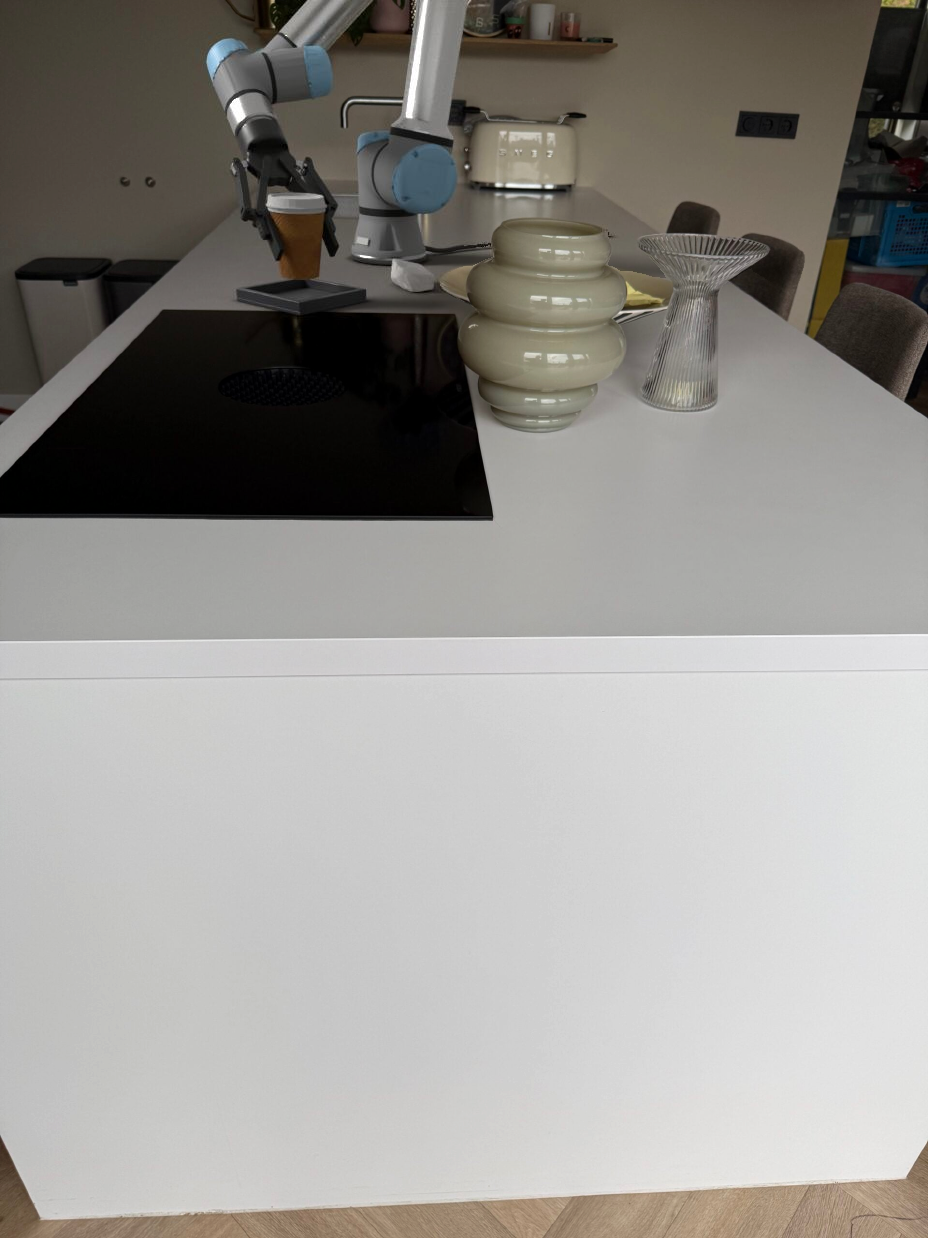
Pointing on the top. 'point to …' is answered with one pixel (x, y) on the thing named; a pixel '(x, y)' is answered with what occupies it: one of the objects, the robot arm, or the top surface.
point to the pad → (301, 295)
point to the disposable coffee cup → (298, 232)
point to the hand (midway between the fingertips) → (307, 253)
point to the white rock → (411, 276)
